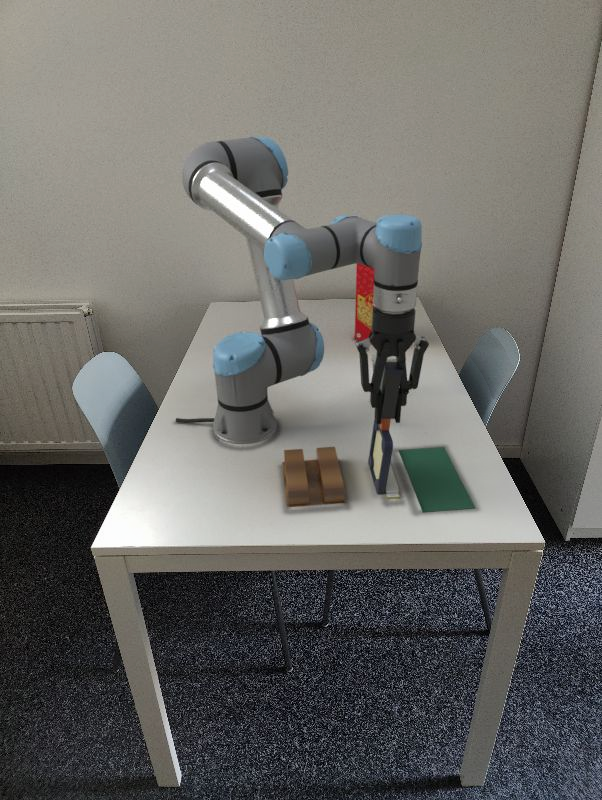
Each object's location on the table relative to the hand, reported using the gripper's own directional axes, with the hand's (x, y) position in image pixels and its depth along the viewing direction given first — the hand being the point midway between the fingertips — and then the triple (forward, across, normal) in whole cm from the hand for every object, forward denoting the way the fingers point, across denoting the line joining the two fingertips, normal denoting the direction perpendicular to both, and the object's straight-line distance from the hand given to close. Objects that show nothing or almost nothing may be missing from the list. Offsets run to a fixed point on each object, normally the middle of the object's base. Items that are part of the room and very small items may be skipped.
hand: (387, 419), depth 115 cm
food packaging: (+15, +13, +69) cm, 72 cm away
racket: (+15, -2, 0) cm, 15 cm away
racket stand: (+15, -15, 0) cm, 21 cm away
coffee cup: (+15, +8, +36) cm, 40 cm away
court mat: (+15, +10, 0) cm, 18 cm away
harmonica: (+16, +1, 0) cm, 16 cm away
